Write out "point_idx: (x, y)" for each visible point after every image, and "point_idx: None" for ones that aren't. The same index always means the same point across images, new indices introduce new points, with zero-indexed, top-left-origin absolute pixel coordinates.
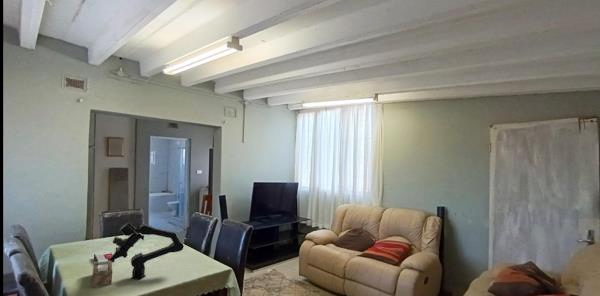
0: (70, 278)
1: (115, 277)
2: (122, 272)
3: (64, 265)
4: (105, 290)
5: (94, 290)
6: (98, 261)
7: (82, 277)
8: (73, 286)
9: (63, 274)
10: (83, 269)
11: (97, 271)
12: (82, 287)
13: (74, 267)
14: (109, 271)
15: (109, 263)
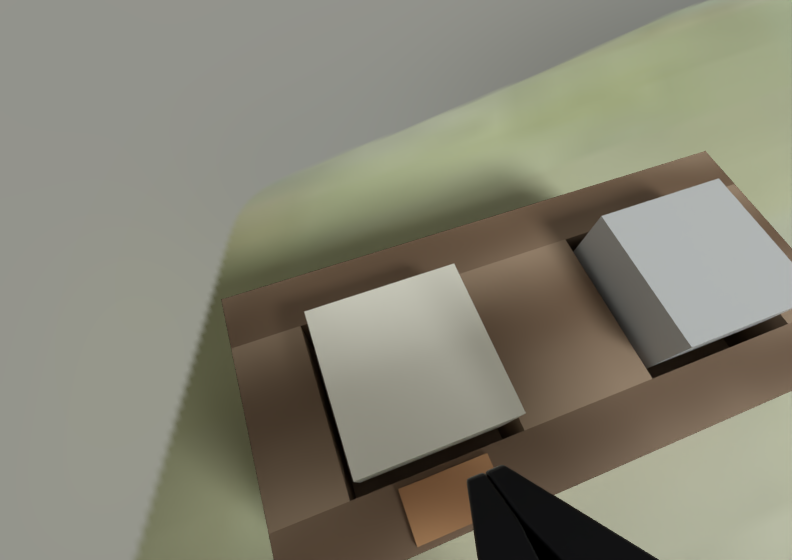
0: (508, 120)
1: None
2: (765, 556)
3: (759, 4)
4: (136, 557)
5: (176, 418)
6: (645, 207)
7: (537, 188)
8: (326, 199)
9: (585, 56)
10: (722, 130)
11: None
12: (289, 274)
13: (743, 64)
14: (277, 551)
15: (711, 379)
